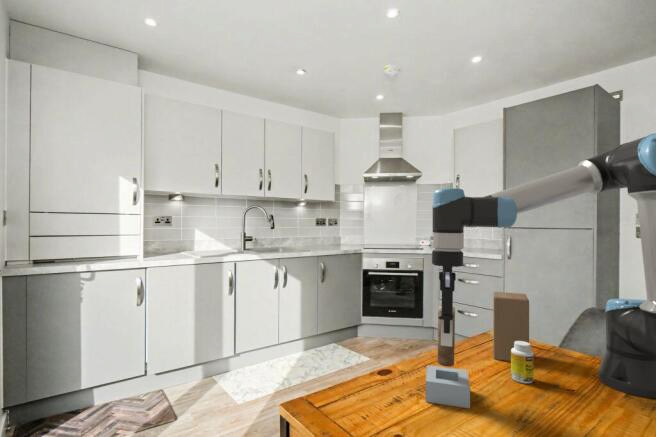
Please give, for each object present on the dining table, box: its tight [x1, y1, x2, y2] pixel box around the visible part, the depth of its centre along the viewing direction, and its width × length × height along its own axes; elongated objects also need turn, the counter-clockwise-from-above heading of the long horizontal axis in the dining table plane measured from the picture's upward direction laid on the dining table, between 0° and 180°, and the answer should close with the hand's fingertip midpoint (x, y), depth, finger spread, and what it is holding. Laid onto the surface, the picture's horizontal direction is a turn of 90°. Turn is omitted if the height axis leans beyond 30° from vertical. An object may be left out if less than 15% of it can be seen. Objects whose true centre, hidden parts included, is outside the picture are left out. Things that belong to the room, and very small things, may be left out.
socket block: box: [425, 364, 471, 409], centre depth 89 cm, size 10×10×5 cm
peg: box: [437, 305, 456, 368], centre depth 90 cm, size 4×4×14 cm
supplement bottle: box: [510, 341, 535, 385], centre depth 99 cm, size 6×6×10 cm
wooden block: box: [492, 291, 530, 363], centre depth 116 cm, size 10×10×20 cm
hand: (446, 342), depth 90 cm, fingers closed on peg, 4 cm apart
